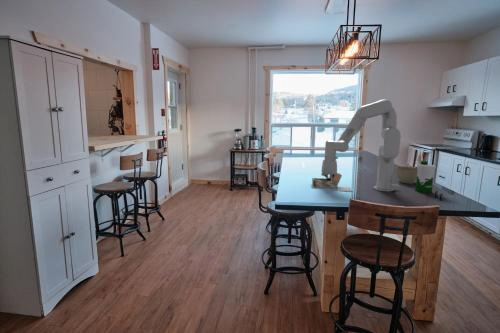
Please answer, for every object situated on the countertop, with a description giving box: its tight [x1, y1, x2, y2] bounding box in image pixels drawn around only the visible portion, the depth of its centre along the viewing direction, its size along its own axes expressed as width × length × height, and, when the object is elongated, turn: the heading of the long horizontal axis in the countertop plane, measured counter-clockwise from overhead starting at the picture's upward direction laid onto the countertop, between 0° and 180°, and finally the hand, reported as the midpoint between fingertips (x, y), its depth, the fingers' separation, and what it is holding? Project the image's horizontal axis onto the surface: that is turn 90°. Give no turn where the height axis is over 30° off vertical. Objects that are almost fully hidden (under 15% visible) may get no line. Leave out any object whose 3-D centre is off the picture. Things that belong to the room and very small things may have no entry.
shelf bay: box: [311, 177, 337, 189], centre depth 206 cm, size 15×8×4 cm, turn 84°
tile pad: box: [336, 186, 354, 193], centre depth 197 cm, size 9×9×1 cm
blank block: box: [331, 172, 343, 187], centre depth 205 cm, size 4×4×9 cm
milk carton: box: [414, 160, 437, 194], centre depth 193 cm, size 9×9×20 cm
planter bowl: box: [395, 165, 418, 184], centre depth 219 cm, size 16×16×11 cm
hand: (328, 183), depth 206 cm, fingers closed
